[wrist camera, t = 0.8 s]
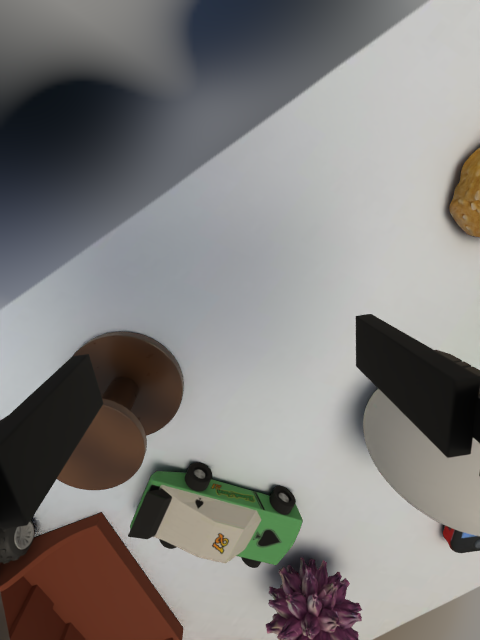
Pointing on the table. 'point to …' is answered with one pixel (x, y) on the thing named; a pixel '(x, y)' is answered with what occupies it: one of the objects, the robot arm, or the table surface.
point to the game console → (461, 540)
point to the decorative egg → (423, 467)
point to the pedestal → (124, 408)
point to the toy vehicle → (15, 542)
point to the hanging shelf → (82, 589)
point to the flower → (312, 605)
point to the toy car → (216, 517)
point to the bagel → (468, 197)
